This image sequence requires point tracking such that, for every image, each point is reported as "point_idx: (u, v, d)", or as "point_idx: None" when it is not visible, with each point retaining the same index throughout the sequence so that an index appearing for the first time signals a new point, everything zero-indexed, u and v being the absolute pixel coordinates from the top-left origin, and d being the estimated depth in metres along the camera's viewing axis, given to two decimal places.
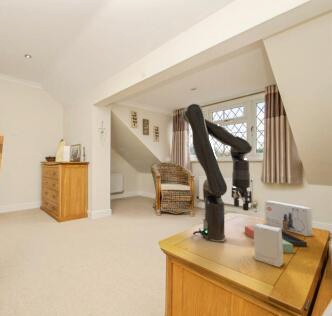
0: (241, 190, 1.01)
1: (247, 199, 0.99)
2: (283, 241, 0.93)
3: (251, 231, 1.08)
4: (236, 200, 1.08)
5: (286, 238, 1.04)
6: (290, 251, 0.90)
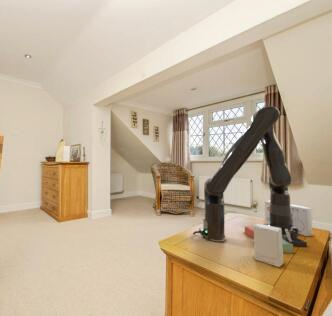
0: None
1: None
2: (283, 241, 0.93)
3: (251, 231, 1.08)
4: None
5: None
6: (290, 251, 0.90)
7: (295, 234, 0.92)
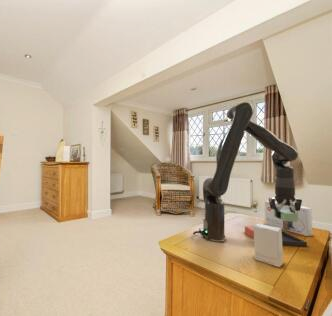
0: None
1: (278, 207, 1.01)
2: (288, 211, 1.00)
3: (251, 231, 1.08)
4: None
5: (286, 238, 1.04)
6: (294, 220, 0.97)
7: (298, 204, 0.99)
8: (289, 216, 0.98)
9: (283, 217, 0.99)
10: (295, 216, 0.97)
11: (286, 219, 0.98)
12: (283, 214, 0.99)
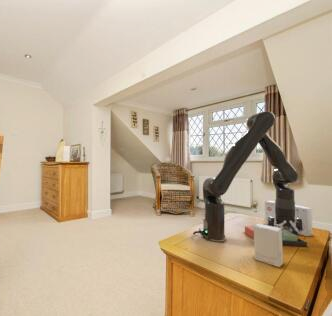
0: None
1: (276, 226, 1.02)
2: (288, 233, 1.01)
3: (251, 231, 1.08)
4: (293, 231, 1.01)
5: None
6: None
7: (300, 224, 1.00)
8: (289, 238, 0.98)
9: (283, 239, 0.99)
10: (295, 238, 0.98)
11: (286, 240, 0.98)
12: (283, 236, 0.99)
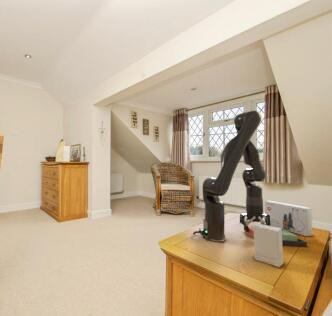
0: None
1: (246, 222, 1.10)
2: (288, 233, 1.01)
3: (251, 231, 1.08)
4: None
5: None
6: None
7: (268, 220, 1.07)
8: (289, 238, 0.98)
9: (283, 239, 0.99)
10: (295, 238, 0.98)
11: (286, 240, 0.98)
12: (283, 236, 0.99)
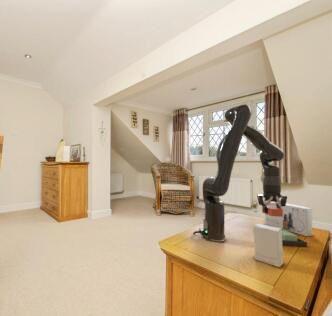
0: None
1: (265, 203, 1.10)
2: (288, 233, 1.01)
3: (269, 209, 1.08)
4: (277, 207, 1.10)
5: None
6: None
7: (284, 200, 1.08)
8: (289, 238, 0.98)
9: (283, 239, 0.99)
10: (295, 238, 0.98)
11: (286, 240, 0.98)
12: (283, 236, 0.99)
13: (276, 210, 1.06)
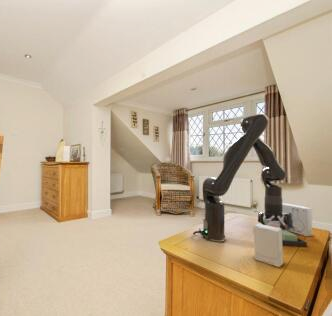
0: None
1: (265, 221, 1.10)
2: (288, 233, 1.01)
3: None
4: (281, 225, 1.09)
5: None
6: None
7: (287, 219, 1.08)
8: (289, 238, 0.98)
9: (283, 239, 0.99)
10: (295, 238, 0.98)
11: (286, 240, 0.98)
12: (283, 236, 0.99)
13: None
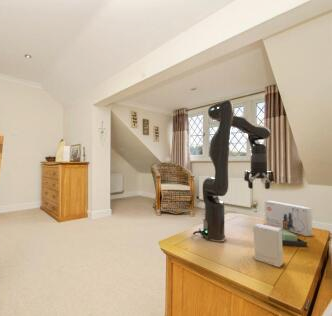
0: None
1: (251, 179, 1.15)
2: (288, 233, 1.01)
3: None
4: (266, 183, 1.14)
5: None
6: None
7: (271, 176, 1.12)
8: (289, 238, 0.98)
9: (283, 239, 0.99)
10: (295, 238, 0.98)
11: (286, 240, 0.98)
12: (283, 236, 0.99)
13: None
